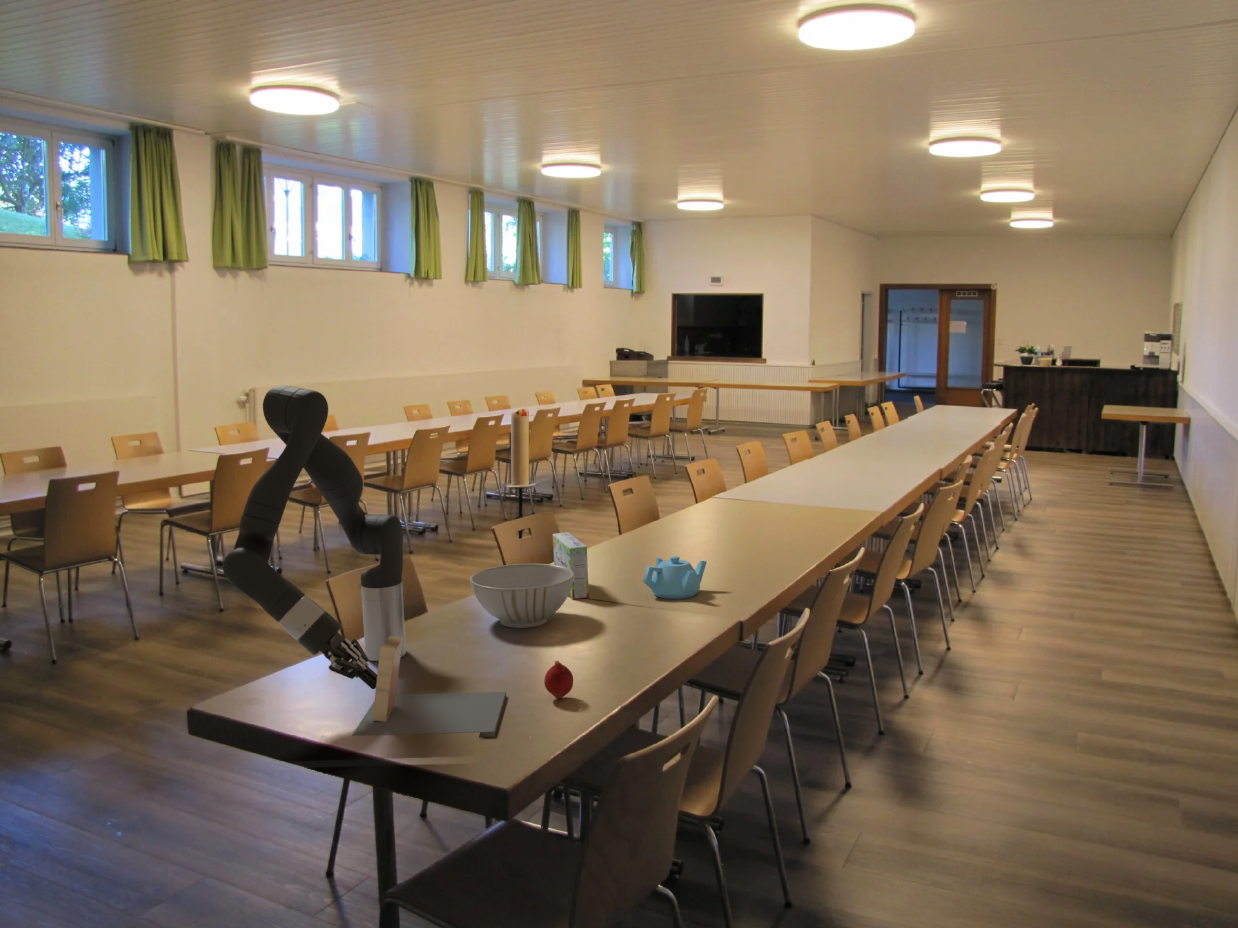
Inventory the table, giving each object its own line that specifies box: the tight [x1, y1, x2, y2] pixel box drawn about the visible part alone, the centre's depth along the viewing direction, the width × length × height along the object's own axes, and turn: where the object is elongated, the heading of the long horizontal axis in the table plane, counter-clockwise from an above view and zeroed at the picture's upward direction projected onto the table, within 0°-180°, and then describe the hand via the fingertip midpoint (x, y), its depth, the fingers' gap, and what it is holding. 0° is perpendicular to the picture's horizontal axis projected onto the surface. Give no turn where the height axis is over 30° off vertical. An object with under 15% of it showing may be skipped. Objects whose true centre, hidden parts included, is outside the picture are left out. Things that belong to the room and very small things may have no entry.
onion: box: [543, 659, 574, 700], centre depth 192 cm, size 6×6×8 cm
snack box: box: [552, 531, 590, 601], centre depth 276 cm, size 21×6×15 cm, turn 17°
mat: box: [351, 691, 507, 738], centre depth 185 cm, size 20×26×1 cm
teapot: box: [642, 555, 707, 600], centre depth 270 cm, size 15×15×11 cm
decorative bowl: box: [469, 563, 575, 629], centre depth 247 cm, size 27×27×12 cm
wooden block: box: [372, 636, 403, 722], centre depth 184 cm, size 8×3×14 cm, turn 1°
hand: (378, 684), depth 184 cm, fingers closed
